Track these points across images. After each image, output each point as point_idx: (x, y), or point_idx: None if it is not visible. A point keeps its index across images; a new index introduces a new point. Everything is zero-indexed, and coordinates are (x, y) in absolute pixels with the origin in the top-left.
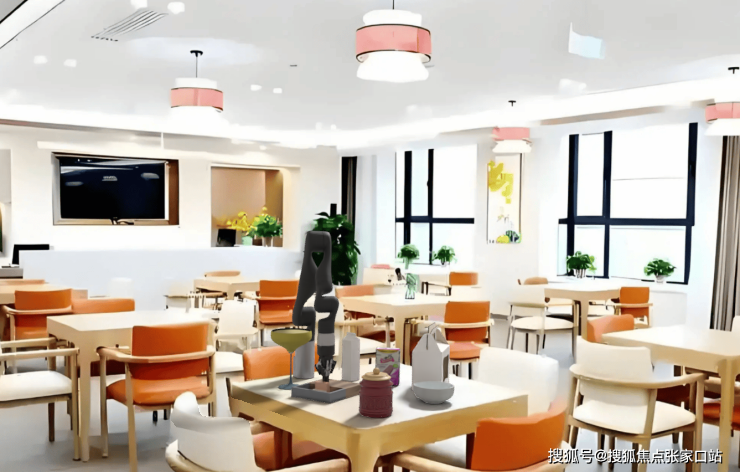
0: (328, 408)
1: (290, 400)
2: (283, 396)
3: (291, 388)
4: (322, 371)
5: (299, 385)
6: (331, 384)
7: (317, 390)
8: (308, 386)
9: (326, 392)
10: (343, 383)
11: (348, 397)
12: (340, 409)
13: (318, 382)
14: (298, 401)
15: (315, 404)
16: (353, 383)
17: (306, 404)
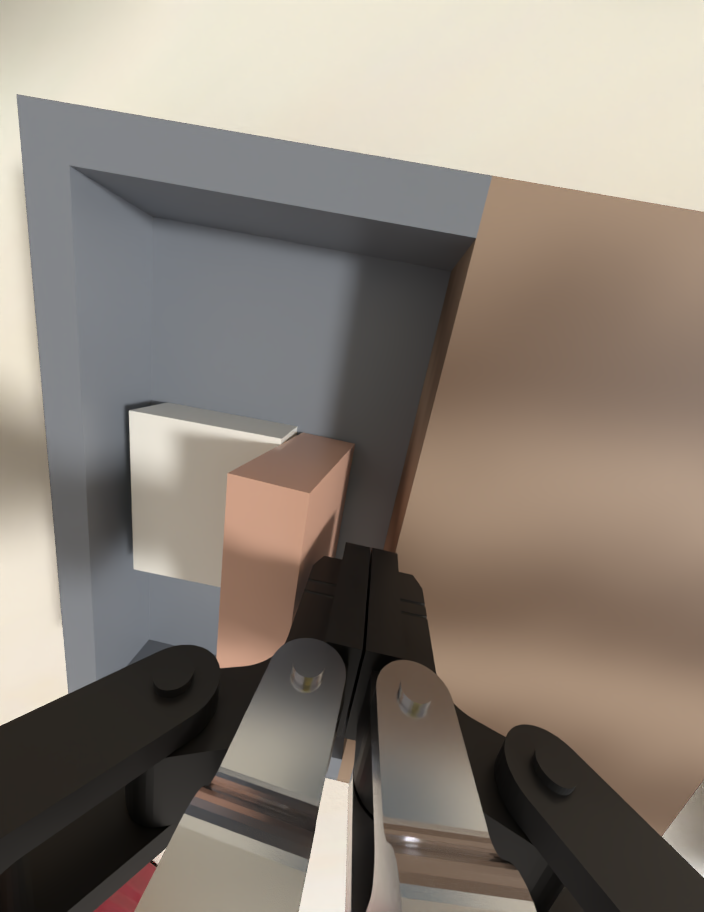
0: (26, 670)
1: (8, 280)
2: (93, 68)
3: (41, 115)
4: (14, 894)
5: (199, 165)
6: (494, 593)
7: (219, 504)
8: (424, 247)
9: (83, 677)
10: (611, 698)
11: None
12: None
13: (226, 541)
14: (32, 380)
15: (51, 556)
16: (646, 786)
17: (3, 494)
